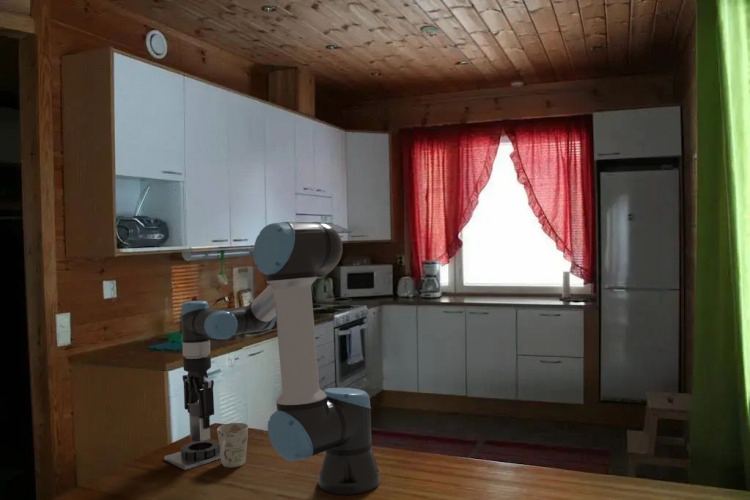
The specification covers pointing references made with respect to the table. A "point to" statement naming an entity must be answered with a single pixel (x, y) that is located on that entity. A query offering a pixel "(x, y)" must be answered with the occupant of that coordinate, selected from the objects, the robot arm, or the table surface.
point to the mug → (233, 443)
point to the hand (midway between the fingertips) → (200, 437)
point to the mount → (195, 454)
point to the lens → (195, 421)
